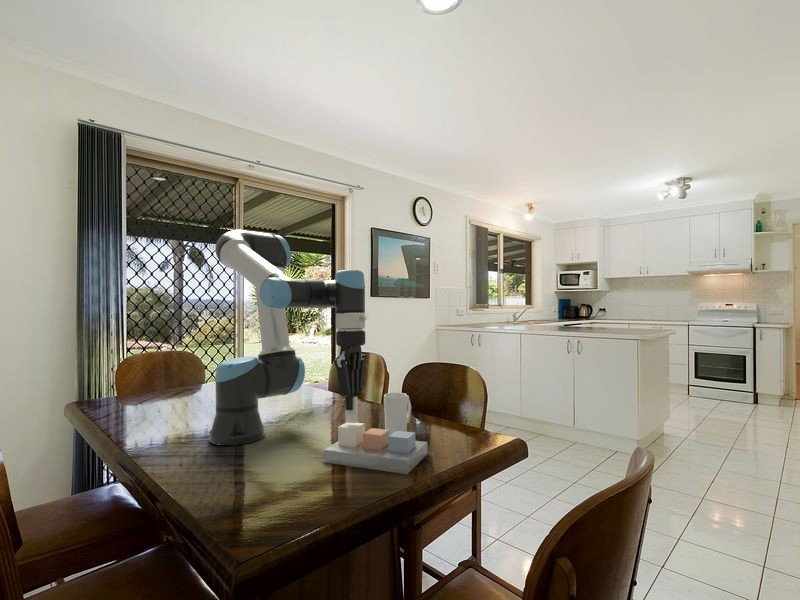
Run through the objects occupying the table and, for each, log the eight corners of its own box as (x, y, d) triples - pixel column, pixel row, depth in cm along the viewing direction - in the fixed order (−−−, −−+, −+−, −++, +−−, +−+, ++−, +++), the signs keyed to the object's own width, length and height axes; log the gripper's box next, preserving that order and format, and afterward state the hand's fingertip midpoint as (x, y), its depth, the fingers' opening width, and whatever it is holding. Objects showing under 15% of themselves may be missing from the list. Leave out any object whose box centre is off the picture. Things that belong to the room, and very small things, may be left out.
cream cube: (338, 446, 103) (337, 426, 103) (348, 440, 107) (347, 421, 108) (355, 448, 101) (355, 428, 101) (365, 442, 106) (364, 423, 106)
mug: (396, 441, 115) (395, 398, 115) (379, 436, 119) (379, 395, 120) (419, 432, 122) (418, 392, 122) (403, 428, 127) (402, 390, 127)
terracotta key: (362, 454, 100) (362, 433, 100) (371, 447, 105) (371, 428, 105) (381, 456, 98) (380, 435, 98) (389, 449, 103) (389, 429, 103)
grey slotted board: (323, 462, 99) (323, 449, 99) (351, 444, 112) (351, 433, 112) (407, 474, 91) (407, 460, 91) (427, 453, 104) (427, 441, 104)
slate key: (388, 457, 97) (388, 436, 98) (397, 450, 102) (396, 430, 102) (408, 459, 96) (407, 438, 96) (415, 453, 100) (415, 432, 100)
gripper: (351, 331, 98) (352, 430, 97) (374, 328, 110) (376, 417, 109) (324, 331, 101) (325, 427, 100) (350, 328, 113) (351, 414, 112)
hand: (351, 421), depth 104 cm, fingers closed
